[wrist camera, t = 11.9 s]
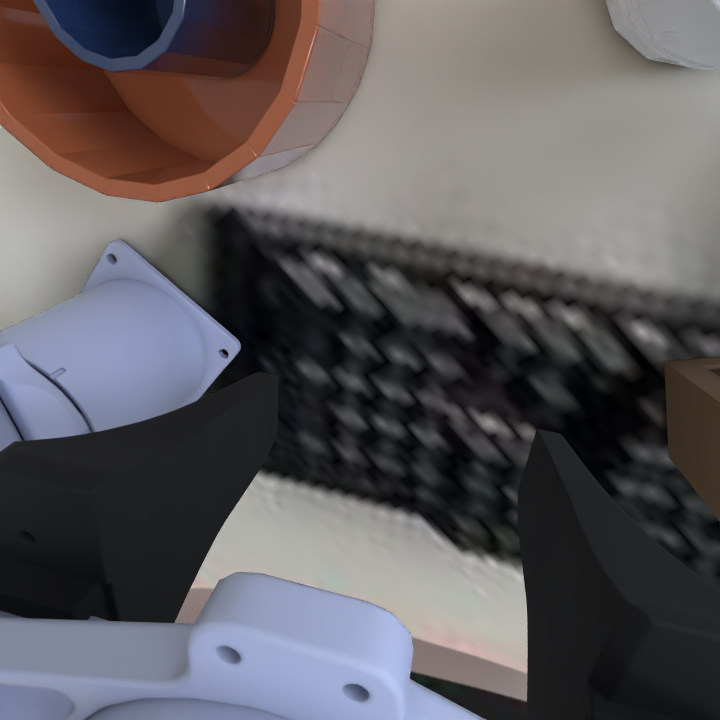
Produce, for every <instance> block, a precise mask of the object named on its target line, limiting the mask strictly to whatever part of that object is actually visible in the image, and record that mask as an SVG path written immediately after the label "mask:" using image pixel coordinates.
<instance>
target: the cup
mask: <svg viewBox="0 0 720 720" xmlns="http://www.w3.org/2000/svg"><path fill="white" fill-rule="evenodd" d="M33 1H34V3H35V5H36V6H37V8H38V10H39V11H40V13H41V15H42V17H43V18H44V20H45V22H46V23H47V25H48V27H49V28H50V30H51V32H52V33H53V34H54V36H55V37H56V38H57V39H58V40H60V41H61V42H62V43H63V44H64V45H65V46H66V47H67V48H68V49H69V50H71V51H72V52H73V53H74V54H75V55H76V56H77V57H78V58H79V59H81V60H82V61H84V62H86V63H89V64H92V65H94V66H97V67H99V68H102V69H105V70H107V71H110V72H116V73H128V74H140V75H152V76H164V77H176V78H188V79H200V80H226V79H231V78H234V77H237V76H240V75H242V74H243V73H245V72H247V71H248V70H249V69H251V68H252V67H253V66H254V65H255V64H256V63H257V62H258V61H259V59H260V58H261V56H262V55H263V53H264V52H265V50H266V48H267V46H268V43H269V41H270V38H271V35H272V31H273V26H274V19H275V0H33Z"/></svg>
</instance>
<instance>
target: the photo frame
mask: <svg viewBox="0 0 720 720" xmlns="http://www.w3.org/2000/svg"><path fill="white" fill-rule="evenodd" d="M664 369H665V390H666V411H667V432H668V453H669V458H670V459H671V460H672V461H673V463H674V464H675V465H676V467H677V468H678V469H679V470H680V472H681V473H682V474H683V475H684V477H685V478H686V479H687V480H688V482H689V483H690V484H691V486H692V487H693V488H694V489H695V491H696V492H697V493H698V494H699V496H700V497H701V498H702V500H703V501H704V502H705V503H706V505H707V506H708V507H709V508H710V510H711V511H712V512H713V514H714V515H715V516H716V517H717V519H718V520H719V521H720V357H711V358H699V359H688V360H676V361H665V362H664Z"/></svg>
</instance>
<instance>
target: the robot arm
mask: <svg viewBox="0 0 720 720" xmlns="http://www.w3.org/2000/svg"><path fill="white" fill-rule="evenodd" d="M112 254H113V255H114V256H115V257H116V259H117V261H114V259H113V258H112ZM222 349H224V350H226V351H227V352H228V355H225V354H224V353H223V351H222ZM240 349H241V344H240V342H239V340H238V339H237V338H236V337H235V336H233V335H232V334H231V333H230V332H229V331H228V330H226V329H225V328H224V327H223V326H222V325H221V324H219V323H218V322H217V321H216V320H215V319H214V318H212V317H211V316H210V315H209V314H208V313H207V312H205V311H204V310H203V309H202V308H201V307H200V306H198V305H197V304H196V303H195V302H194V301H193V300H191V299H190V298H189V297H188V296H187V295H186V294H184V293H183V292H182V291H181V290H180V289H179V288H177V287H176V286H175V285H174V284H173V283H172V282H170V281H169V280H168V279H167V278H166V277H165V276H163V275H162V274H161V273H160V272H159V271H158V270H156V269H155V268H154V267H153V266H152V265H151V264H149V263H148V262H147V261H146V260H145V259H144V258H143V257H141V256H140V255H139V254H138V253H137V252H136V251H134V250H133V249H132V248H131V247H130V246H129V245H127V244H126V243H125V242H123V241H122V240H114V241H112V242H110V243H109V244H108V246H107V247H106V249H105V251H104V252H103V254H102V256H101V258H100V259H99V261H98V263H97V264H96V266H95V268H94V270H93V271H92V273H91V275H90V277H89V278H88V280H87V282H86V283H85V285H84V287H83V289H82V290H81V292H80V294H79V295H77V296H75V297H72V298H70V299H68V300H66V301H64V302H62V303H60V304H58V305H55V306H53V307H51V308H49V309H47V310H45V311H43V312H41V313H38V314H36V315H34V316H32V317H30V318H28V319H26V320H24V321H21V322H19V323H17V324H15V325H13V326H11V327H9V328H7V329H4V330H2V331H0V720H485V719H483V718H481V717H480V716H478V715H476V714H474V713H472V712H470V711H468V710H467V709H465V708H463V707H461V706H459V705H457V704H455V703H453V702H452V701H450V700H448V699H446V698H444V697H442V696H440V695H439V694H437V693H435V692H433V691H431V690H429V689H427V688H426V687H424V686H422V685H420V684H418V683H416V682H414V681H412V680H411V679H410V672H411V665H412V657H413V645H412V639H411V633H410V631H409V630H408V629H407V628H406V627H405V626H404V625H403V624H402V623H401V622H400V621H399V620H398V619H397V617H396V616H395V615H394V614H393V613H392V612H389V611H387V610H385V609H383V608H381V607H379V606H377V605H374V604H372V603H370V602H367V601H363V600H359V599H355V598H352V597H348V596H344V595H340V594H337V593H333V592H329V591H325V590H322V589H318V588H314V587H310V586H307V585H303V584H299V583H295V582H292V581H288V580H284V579H280V578H277V577H273V576H269V575H265V574H262V573H247V572H236V573H233V574H231V575H229V576H227V577H225V578H223V579H221V580H219V582H218V583H217V585H216V587H215V589H214V590H213V592H212V594H211V596H210V597H209V599H208V601H207V603H206V604H205V606H204V608H203V610H202V611H201V613H200V615H199V617H198V619H197V620H196V622H195V624H184V623H181V624H180V623H174V622H175V620H176V618H177V616H178V613H179V611H180V609H181V607H182V604H183V603H184V600H185V598H186V596H187V594H188V592H189V590H190V588H191V586H192V584H193V582H194V579H195V577H196V575H197V573H198V571H199V569H200V567H201V565H202V563H203V561H204V559H205V557H206V555H207V553H208V551H209V549H210V548H211V546H212V544H213V542H214V540H215V538H216V536H217V534H218V532H219V531H220V529H221V527H222V526H223V524H224V522H225V521H226V519H227V518H228V516H229V515H230V513H231V512H232V510H233V509H234V507H235V506H236V504H237V503H238V501H239V500H240V498H241V497H242V495H243V494H244V492H245V491H246V489H247V488H248V486H249V485H250V483H251V482H252V480H253V479H254V477H255V476H256V474H257V473H258V471H259V470H260V468H261V466H262V465H263V463H264V461H265V459H266V457H267V455H268V453H269V451H270V449H271V447H272V445H273V442H274V440H275V438H276V436H277V414H278V382H279V376H275V375H270V374H266V373H261V372H258V373H255V374H253V375H250V376H248V377H246V378H244V379H242V380H240V381H238V382H236V383H234V384H232V385H230V386H228V387H226V388H224V389H221V390H219V391H217V392H215V393H213V394H211V395H209V396H207V397H205V398H202V399H200V400H198V399H199V398H200V397H201V396H202V394H203V393H204V392H205V391H206V390H207V389H208V387H209V386H210V385H211V384H212V383H213V382H214V380H215V379H216V378H217V377H218V376H219V375H220V373H221V372H222V371H223V370H224V369H225V368H226V366H227V365H228V364H229V363H230V362H231V361H232V359H233V358H234V357H235V356H236V355H237V354H238V352H239V351H240ZM518 531H519V540H520V549H521V557H522V566H523V574H524V582H525V591H526V600H527V618H528V681H527V683H528V684H527V687H528V688H527V720H720V590H719V589H717V588H716V587H714V586H713V585H711V584H710V583H708V582H707V581H705V580H704V579H703V578H701V577H700V576H698V575H697V574H696V573H694V572H693V571H692V570H690V569H689V568H688V567H686V566H685V565H684V564H682V563H681V562H680V561H679V560H677V559H676V558H675V557H674V556H672V555H671V554H670V553H669V552H667V551H666V550H665V549H664V548H663V547H661V546H660V545H659V544H658V543H657V542H656V541H654V540H653V539H652V538H651V537H650V536H649V535H648V534H647V533H646V532H645V531H644V530H642V529H641V528H640V527H639V526H638V525H637V524H636V523H635V522H634V521H633V520H632V519H631V518H630V517H629V516H628V515H627V514H626V513H625V512H624V511H623V510H622V509H621V508H620V507H619V506H618V504H617V503H616V502H615V501H614V500H613V499H612V498H611V497H610V496H609V495H608V493H607V492H606V491H605V490H604V489H603V488H602V486H601V485H600V484H599V483H598V482H597V480H596V479H595V478H594V477H593V475H592V474H591V473H590V472H589V470H588V469H587V468H586V466H585V465H584V464H583V463H582V461H581V460H580V459H579V457H578V456H577V455H576V453H575V452H574V451H573V449H572V448H571V446H570V445H569V444H568V442H567V441H566V440H565V439H564V437H563V436H562V435H561V434H558V433H553V432H548V431H544V430H539V429H537V431H536V434H535V437H534V441H533V444H532V447H531V450H530V453H529V457H528V460H527V463H526V466H525V469H524V472H523V476H522V479H521V482H520V485H519V488H518Z"/></svg>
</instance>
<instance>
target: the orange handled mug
mask: <svg viewBox="0 0 720 720" xmlns="http://www.w3.org/2000/svg"><path fill="white" fill-rule="evenodd" d="M373 20H374V0H275V19H274V26H273V31H272V35H271V38H270V41H269V43H268V46H267V48H266V50H265V52H264V53H263V55H262V56H261V58H260V59H259V61H258V62H257V63H256V64H255V65H254V66H253V67H252V68H251V69H249V70H248V71H247V72H245V73H243V74H242V75H240V76H237V77H234V78H231V79H226V80H200V79H188V78H176V77H164V76H152V75H140V74H128V73H116V72H110V71H107V70H105V69H102V68H99V67H97V66H94V65H92V64H89V63H86V62H84V61H82V60H81V59H79V58H78V57H77V56H76V55H75V54H74V53H73V52H72V51H71V50H69V49H68V48H67V47H66V46H65V45H64V44H63V43H62V42H61V41H60V40H58V39H57V38H56V37H55V36H54V34H53V33H52V32H51V30H50V28H49V27H48V25H47V23H46V22H45V20H44V18H43V17H42V15H41V13H40V11H39V10H38V8H37V6H36V5H35V3H34V1H33V0H0V124H1V126H3V127H4V128H5V129H6V130H7V131H8V132H9V133H10V134H11V135H13V136H14V137H15V138H16V139H17V140H18V141H20V142H21V143H22V144H23V145H24V146H25V147H27V148H28V149H29V150H30V151H31V152H32V153H33V154H35V155H36V156H37V157H38V158H39V159H40V160H42V161H43V162H44V163H45V164H46V165H47V166H49V167H50V168H52V169H53V170H54V171H56V172H58V173H61V174H63V175H65V176H67V177H69V178H71V179H73V180H75V181H77V182H79V183H81V184H83V185H85V186H87V187H90V188H92V189H94V190H96V191H98V192H100V193H102V194H105V195H107V196H114V197H122V198H129V199H136V200H144V201H151V202H164V201H168V200H173V199H177V198H181V197H185V196H190V195H194V194H198V193H202V192H207V191H211V190H214V189H217V188H220V187H223V186H226V185H229V184H233V183H236V182H239V181H242V180H245V179H248V178H251V177H255V176H258V175H261V174H264V173H267V172H270V171H273V170H277V169H280V168H282V167H284V166H285V165H287V164H288V163H290V162H292V161H294V160H296V159H297V158H299V157H300V156H302V155H303V154H305V153H307V152H308V151H310V150H311V149H312V148H313V147H314V146H315V145H317V144H318V143H319V142H320V141H321V140H322V139H323V138H324V137H325V136H326V135H327V134H328V133H329V132H330V130H331V129H332V128H333V127H334V126H335V125H336V123H337V122H338V121H339V119H340V118H341V116H342V115H343V113H344V111H345V110H346V108H347V107H348V105H349V103H350V101H351V99H352V97H353V95H354V93H355V91H356V89H357V87H358V85H359V82H360V79H361V76H362V73H363V70H364V68H365V65H366V61H367V56H368V52H369V48H370V43H371V38H372V29H373Z"/></svg>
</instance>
